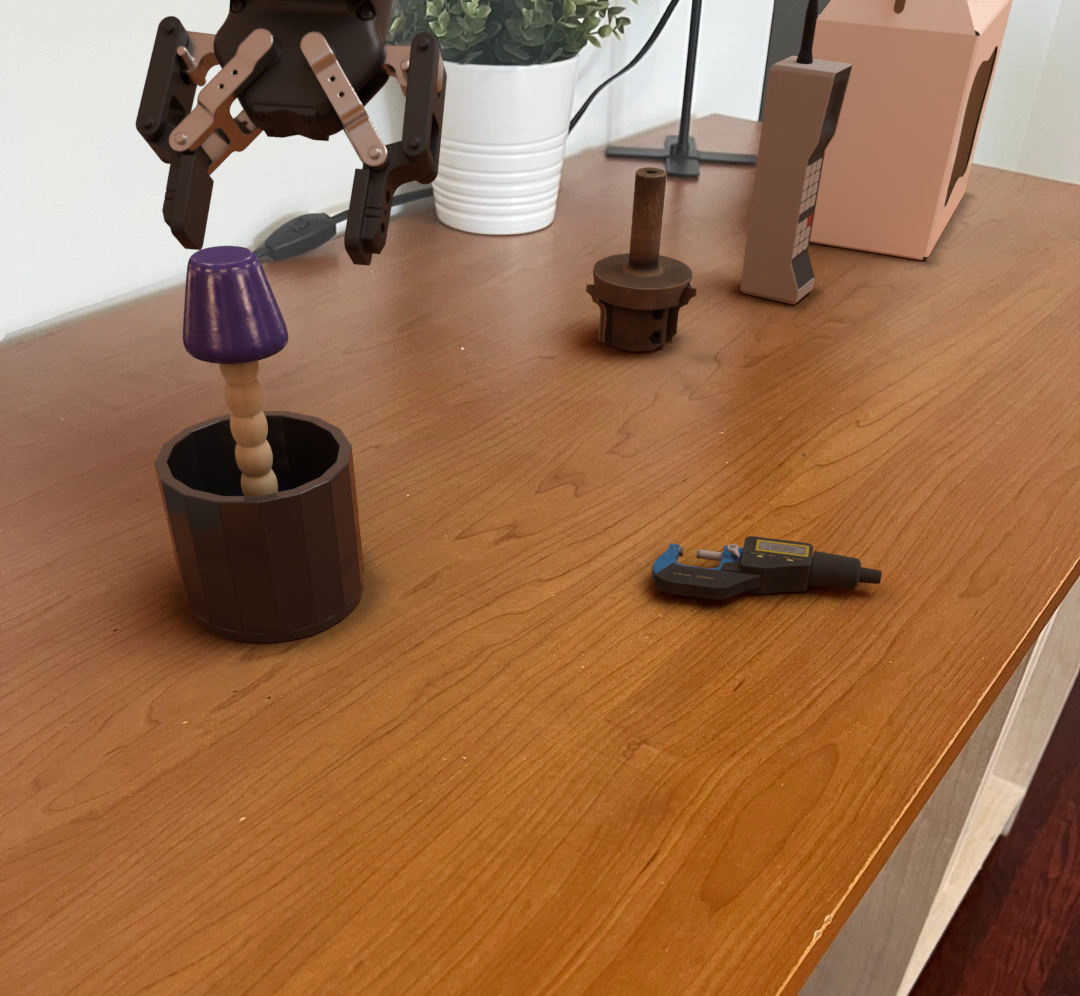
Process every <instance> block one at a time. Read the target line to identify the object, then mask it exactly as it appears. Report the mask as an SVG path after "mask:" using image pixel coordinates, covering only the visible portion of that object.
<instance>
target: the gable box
mask: <svg viewBox="0 0 1080 996" xmlns="http://www.w3.org/2000/svg"><path fill="white" fill-rule="evenodd" d="M1013 1H1014V0H830V1H829V2H828V3H827V5H826V6H825V7H824V8H823V10H822V12H821V13H820V14H818V15H817V21H816V28H815V34H814V41H813V47H812V56H813V59H820V60H828V61H835V62H842V63H849V64H852V69H851V73H850V77H849V81H848V85H847V89H846V93H845V97H844V101H843V105H842V109H841V112H840V116H839V120H838V124H837V128H836V132H835V135H834V137H833V138H832V140H831V141H830V143H829V145H828V146H827V148H826V149H825V155H824V161H823V167H822V173H821V178H820V184H819V190H818V196H817V202H816V208H815V214H814V220H813V226H812V231H811V237H810V243H811V244H812V243H813V244H819V245H825V246H831V247H837V248H843V249H849V250H857V251H863V252H867V253H868V252H869V253H874V254H882V255H886V256H893V257H899V258H905V259H913V260H918V261H925V260H926V259H928V258H929V256H930V254H932V253H931V252H932V251H933V249H934V247H935V246H936V244H937V242H938V240H939V239H940V237H941V236H942V234H943V232H944V230H945V228H946V226H947V225H948V223H949V221H950V219H951V218H952V216H953V214H954V213H955V211H956V209H957V208H958V206H959V204H960V202H961V201H962V199H963V197H964V195H965V194H966V188H967V185H968V182H969V178H970V177H969V176H970V173H971V170H972V169H971V168H972V166H973V161H974V156H975V153H976V148H977V145H978V141H979V137H980V133H981V130H982V129H981V128H982V125H983V121H984V117H985V113H986V109H987V104H988V101H989V97H990V93H991V88H992V85H993V81H994V77H995V73H996V69H997V65H998V61H999V57H1000V54H1001V49H1002V45H1003V41H1004V38H1005V37H1004V36H1005V34H1006V29H1007V25H1008V22H1009V17H1010V13H1011V9H1012V4H1013Z"/></svg>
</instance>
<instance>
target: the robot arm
mask: <svg viewBox="0 0 1080 996" xmlns="http://www.w3.org/2000/svg"><path fill="white" fill-rule="evenodd" d="M393 4H394V0H229V7H228V8H229V10H228V14H227V16H226V18H225V20H224V22H223V23H222V25H221V26H220V27H219V29H218V30H217V31H216V33H206V32H199V31H193V30H192V31H191V30H187V29H186V27H185V26H184V25H183V23H182V21H181V20H180V19H179V18H178V17H176V16H173V15H169V16H165V17H164V18H162V19H161V20H160V21H159V23H158V25H157V29H156V33H155V34H156V35H155V38H154V43H153V46H152V51H151V55H150V60H149V64H148V68H147V72H146V75H145V76H146V77H145V80H144V85H143V90H142V93H141V98H140V102H139V107H138V110H137V114H136V119H135V128H136V131H137V133H138V134H139V135H140V136H141V137H142V138H143V140H144V141H145V142H146V144H147V145H148V146H149V148H151V150H152V151H153V152H154V154H155V155H156V156H157V157H158V159H159V160H160V161H161V162H162V163H164V164H167V165H169V168H168V173H167V174H168V175H167V181H166V186H165V192H164V199H163V203H162V208H161V212H162V217H163V221H164V223H165V224H166V225H167V226H168V228H170V232H171V235H172V236H173V237H174V238H175V239H176V240H177V242H178V243H179V244H180V245H181V246H182V247H183V248H184V249H185V250H192V251H193V250H195V251H199V250H202V249H203V247H204V242H205V238H206V237H205V236H206V230H207V225H208V219H209V212H210V207H211V201H212V195H213V190H214V183H215V181H214V179H213V178H212V177H211V175H212V174H213V173H214V172H216V170H217V169H218V168H219V167H220V166H221V165H222V164H223V163H224V162H225V161H226V160H227V159H228V158H229V156H230V155H232V154H233V153H235V152H236V153H241V152H243V151H245V150H246V149H247V148H248V147H249V146H250V145H251V144H252V143H253V142H254V141H255V140H256V139H257V138H258V137H259V136H260V135H261V134H262V133H265V135H266V136H267V138H280V139H284V138H288V137H295V136H301V137H304V138H306V139H310V140H312V141H321V142H329V141H330V136H334V135H336V134H338V133H340V132H342V131H343V132H344V134H345V136H346V138H347V140H348V141H349V143H350V144H351V147H352V148H353V150H354V151H355V153H356V155H357V157H358V158H359V160H360V162H361V163H362V168H355V169H354V175H353V181H352V187H351V192H350V193H351V194H350V199H349V206H348V210H347V211H348V212H347V218H346V224H345V231H344V237H343V238H344V239H343V245H344V250H345V252H346V253H347V255H348V258H349V259H350V261H351V262H352V264H353V265H355V266H356V265H357V266H367V267H369V266H370V265H371V263H372V259H373V255H381V253H382V252H383V250H384V248H385V247H386V245H387V244H386V243H387V237H388V231H389V224H390V220H391V219H390V218H391V213H392V206H393V199H394V195H395V193H396V191H397V190H398V189H399V187H401V186H403V185H405V184H409V183H413V182H417V183H418V184H420V185H428V184H431V183H433V182H434V181H435V180H436V179H437V178H438V175H439V168H440V167H439V166H440V156H441V155H440V154H441V145H442V144H441V143H442V135H443V124H444V111H445V104H446V103H445V102H446V92H447V82H448V81H447V80H448V75H447V74H448V73H447V71H446V67H445V64H444V60H443V58H442V57H443V56H442V53H441V51H440V47H439V45H438V42H437V38H436V37H435V35H434V34H433V33H431V32H429V31H421V32H419V33H417V34H415V36H414V37H413V38H412V40H411V42H410V44H386V42H387V41H386V40H387V38H388V34H389V29H390V28H389V27H390V22H391V17H392V11H393ZM215 66H219V67H220V68H221V69H220V70H219V71H218V72H217V73H216V74H215V76H213V77H212V78H211V80H209V82H207V79H206V78H207V75H208V72H209V71H210V70H211V69H212V68H214V67H215ZM390 77H393V78H394V79H396V81H397V84H398V87H399V90H400V92H401V94H402V95H403V96H404V97H405V103H404V113H403V123H402V133H401V140H399V141H395V142H391V143H388V144H385V143H384V141H383V139H382V137H381V135H380V134H379V132H378V130H377V128H376V127H375V125H374V123H373V122H372V120H371V118H370V115H369V113H368V111H367V110H366V109H365V107H366V106H367V105H368V104H369V103H370V101H372V100H373V98H374V97H376V95H377V94H378V93H379V92H380V91H381V90H382V89H383V88H384V86H385V85H386V84H387V83H388V81H389V79H390ZM198 87H203V88H202V89H201V90H200V91H199V93H198V95H197V100H196V101H197V102H196V105H195V107H194V108H193V106H194V101H195V96H196V92H197V89H198ZM236 100H237V101H238V102H239V104H240V106H241V108H242V110H241V111H240V112H239V113H238V114H237V115H236V116H235V117H233V116H232V115H231V107H232V105H233V103H234V102H235V101H236Z"/></svg>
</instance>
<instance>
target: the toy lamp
mask: <svg viewBox="0 0 1080 996" xmlns="http://www.w3.org/2000/svg"><path fill="white" fill-rule="evenodd" d="M185 275H186V277H185V289H184V306H183V307H184V309H183V321H182V343H183V346H184V349H185V351H186V352H187V354H188V355H189V356H191V357H192V358H194V359H196V360H198V361H201V362H205V363H210V364H218V367H219V370H220V373H221V376H222V377H223V379H224V380H225V385H224V399H225V404H226V405H227V408H228V410H229V411H230V412H231V413H230V414H231V417H230V428H231V432H232V435H233V438H234V439H235V441H236V442H237V444H236V447H235V458H236V462H237V465H238V467H239V469H240V471H241V472H242V475H241V488H242V492H243V494H244V496H261V495H266V494H271V493H276V492H278V483H277V478H276V475H275V473H274V472H273V470H272V469H271V467H272V463H273V455H272V450H271V447H270V445H269V443H268V441H267V440H266V437H267V434H268V425H267V420H266V417H265V415H264V413H263V411H264V410H262V408H263V405H264V392H263V388H262V386H261V383H260V381H259V380H258V378H257V377H258V374H259V370H260V369H259V368H260V367H259V366H260V365H259V364H260V363H259V361H261V360H265V359H268V358H271V357H273V356H275V355H277V354H278V353H280V352H282V350H284V349H285V347H286V346H287V345H288V342H289V332H288V328H287V325H286V322H285V319H284V317H283V315H282V312H281V308H280V307H279V304H278V301H277V299H276V296H275V294H274V292H273V289H272V287H271V284H270V282H269V280H268V277H267V274H266V271H265V269H264V267H263V264H262V263H261V261H260V259H259V257H258V255H257V254H256V253H255V252H254V251H253V250H251V249H249V248H247V247H244V246H239V245H216V246H210V247H206V248H202V249H201V250H196V251H195V252H194V253H192V255H190V257H189V258H188V261H187V266H186V274H185Z"/></svg>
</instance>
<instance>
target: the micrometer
mask: <svg viewBox="0 0 1080 996" xmlns="http://www.w3.org/2000/svg"><path fill="white" fill-rule="evenodd" d="M684 551H685V547H684V546H681V544H679V543H669V545H668V548H667V549H666V550H665V551H664V552H662V554H661V555H659V556H658V558H657V559H656V560H655V561H654V562H653V565H652V569H651V571H652V572H651V578H652V580H653V586H654V587H655V588H657V589H658V590H660V591H662V592H664V593H667V594H671V595H679V596H687V597H695V598H702V599H711V600H720V601H721V600H728V599H729V598H732V597H733V596H736V595H738V594H741V593H749V594H750V593H751V594H758V595H767V594H777V593H796V592H797V593H798V592H806V591H807V590H808V587H814V588H815V587H816V588H825V589H826V588H827V589H841V590H851V591H852V590H856V588H857V586H858V584H860V583H861V584H873V585H880V584H881V582H882V575H883V571H882V570H880V569H875V568H870V567H863V566H862V562H861V559H860V558H857V557H852V556H846V555H841V554H837V553H836V554H835V553H830V552H824V551H817V550H814V545H813V544H811V543H809V542H803V541H796V540H795V541H793V540H787V539H778V538H771V537H762V536H754V535H749V536H746V537H745V538H744V542H743V547H740V546H739V545H738V544H735V543H729V544H728V545H724V546H723V548H722V551H714V550H706V549H698V548H697V550H696V556H695V558H696V559H698V560H699V559H700V560H708V561H716V562H720V565H719V566H716V567H711V568H708V567H699V566H693V565H686V564H681V563H680V562H678V560H679V557H683V556H684Z"/></svg>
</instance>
